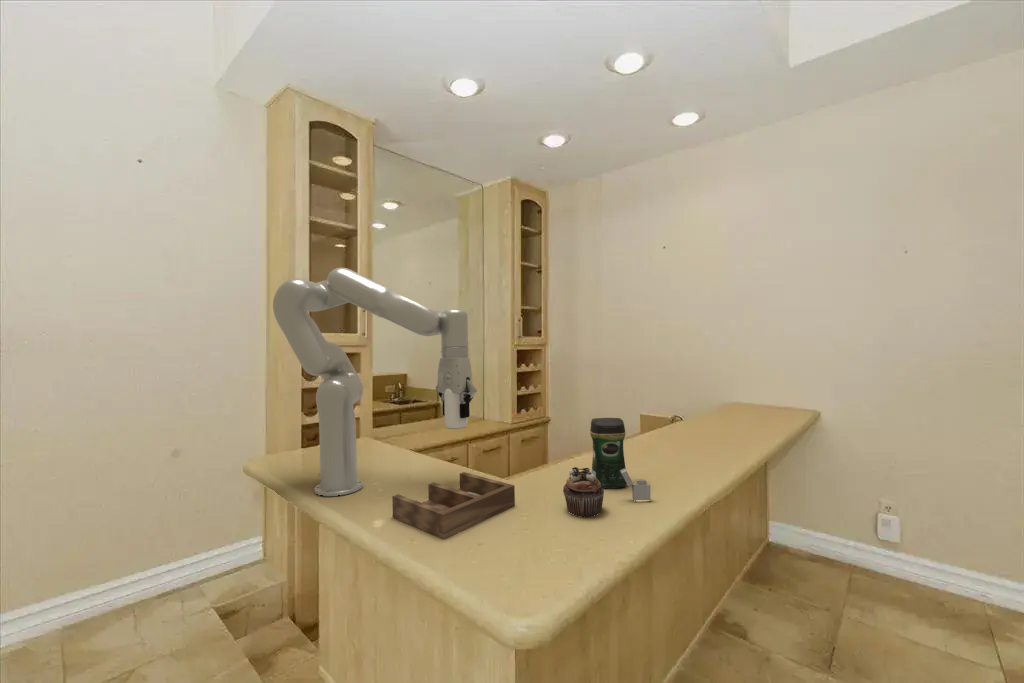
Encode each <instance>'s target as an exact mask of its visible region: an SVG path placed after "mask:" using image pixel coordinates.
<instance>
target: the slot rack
mask: <svg viewBox="0 0 1024 683" xmlns="http://www.w3.org/2000/svg"><path fill="white" fill-rule="evenodd" d="M427 485H428V499H427V500H425V501H422V502H421V501H418V500H416V499H413V498H411V497H407V496H405V495H402V494H399V493H398V494H395V495H392V496H391V498H392V505H391V506H392V518H393V517H394V518H393V519H395V518H396V519H395V520H397V519H398V520H397V521H400V522H402V521H403V523H404V522H405V524H407V525H410V526H412V527H414V528H417V529H419V530H422V531H423V532H425V533H428V534H430V535H433V536H436V537H438V538H440V539H442V540H445V539H448V538H450V537H451V536H453V535H456V534H458V533H460V532H462V531H465V530H467V529H469V528H471V527H473V526H475V525H477V524H479V523H481V522H484V521H485V520H488V519H490V518H492V517H494V516H496V515H498V514H500V513H502V512H504V511H506V510H509V509H512V508H514V507H515V506H516V502H515V501H516V497H515V496H516V495H515V494H516V493H515V489H516V488H515V486H516V485H514V484H512V483H507V482H503V481H500V480H499V481H498V480H495V479H492V478H488V477H484V476H482V475H481V476H480V475H476V474H474V473H473V474H472V473H468V472H465V471H463V472H460V473H459V488H457V489H456V488H454V487H450V486H447V485H443V484H440V483H437V482H434V481H433V482H430V483H428V484H427Z"/></svg>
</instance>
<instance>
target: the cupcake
mask: <svg viewBox="0 0 1024 683" xmlns="http://www.w3.org/2000/svg"><path fill="white" fill-rule="evenodd" d="M580 470H581V471H580ZM568 474H569V476H568V478H567V479H566V481H565V482H566V483H565V484H564V486H563V491H562V492H563V493H562V494H563V496H564V499H565V504H566V509H567V511H568V513H569V512H570V513H572V514H574V515H577V516H576V517H578V516H582V517H581V518H592V517H591V516H594V515H597V514H599V513H600V514H601V512H602V510H603V509H602V508H603V501H604V496H605V488H601V483H600V482H599V480H598V479H597V478H596V477H595V475H593V474H592V471H591V470H590V468H589V467H583V468H579V467H575V466H574V467H572V468H571V469H570V470H569V473H568ZM570 513H569V514H570ZM572 514H571V515H572ZM600 514H599V515H600ZM574 515H573V516H574ZM584 516H585V517H584ZM597 516H598V515H597ZM594 517H595V516H594Z"/></svg>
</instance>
